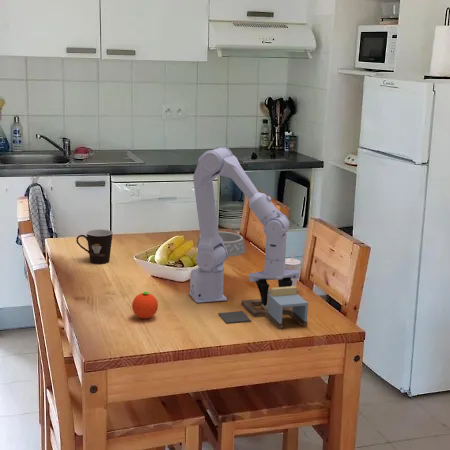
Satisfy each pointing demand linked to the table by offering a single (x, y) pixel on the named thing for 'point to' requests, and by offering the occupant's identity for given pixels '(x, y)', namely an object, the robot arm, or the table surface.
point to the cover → (286, 303)
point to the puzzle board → (255, 312)
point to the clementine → (144, 305)
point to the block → (267, 299)
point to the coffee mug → (98, 245)
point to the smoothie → (292, 266)
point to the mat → (234, 317)
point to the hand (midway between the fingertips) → (272, 303)
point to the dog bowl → (231, 243)
